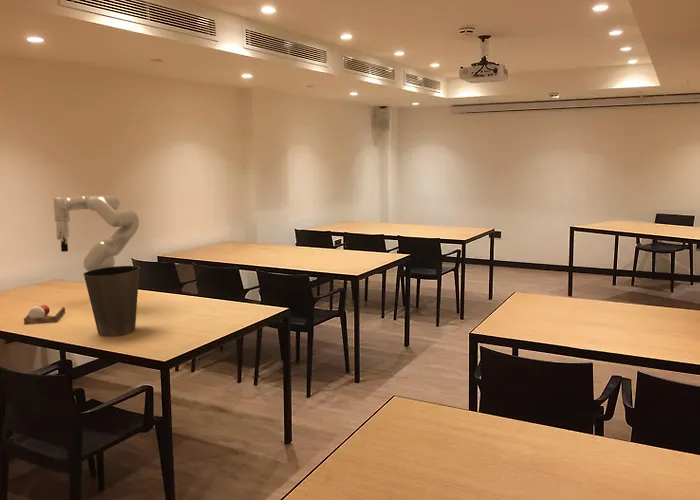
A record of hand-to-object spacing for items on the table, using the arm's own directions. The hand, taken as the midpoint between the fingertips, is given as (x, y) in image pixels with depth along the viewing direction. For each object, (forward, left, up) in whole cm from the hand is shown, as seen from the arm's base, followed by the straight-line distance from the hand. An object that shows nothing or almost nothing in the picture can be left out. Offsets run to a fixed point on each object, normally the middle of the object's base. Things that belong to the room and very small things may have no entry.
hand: (64, 251), depth 338 cm
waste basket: (-33, +65, -31) cm, 79 cm away
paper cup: (+8, +22, -28) cm, 36 cm away
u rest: (+6, +28, -31) cm, 42 cm away
